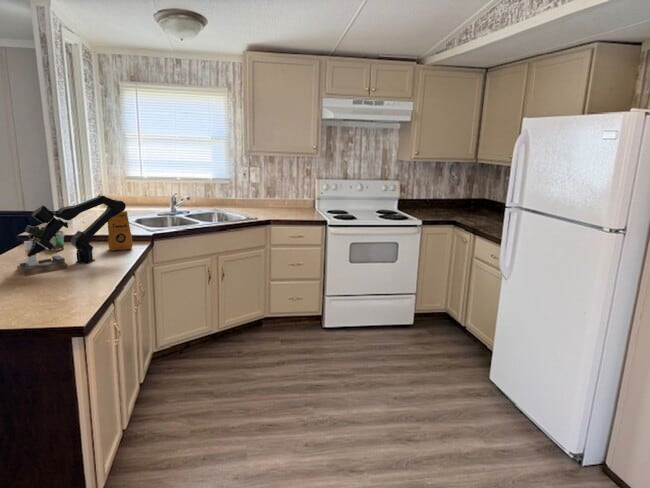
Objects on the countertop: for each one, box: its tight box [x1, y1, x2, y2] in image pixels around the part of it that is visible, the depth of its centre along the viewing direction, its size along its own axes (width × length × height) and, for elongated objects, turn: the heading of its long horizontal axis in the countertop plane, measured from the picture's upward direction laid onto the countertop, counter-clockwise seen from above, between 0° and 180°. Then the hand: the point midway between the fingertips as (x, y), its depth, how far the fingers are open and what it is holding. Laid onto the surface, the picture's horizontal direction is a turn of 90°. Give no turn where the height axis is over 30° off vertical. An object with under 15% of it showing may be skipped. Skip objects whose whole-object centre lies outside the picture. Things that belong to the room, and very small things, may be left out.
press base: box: [16, 255, 69, 276], centre depth 210 cm, size 18×12×4 cm, turn 137°
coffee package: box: [107, 210, 134, 251], centre depth 248 cm, size 10×12×22 cm
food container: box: [49, 230, 65, 253], centre depth 246 cm, size 12×6×10 cm, turn 47°
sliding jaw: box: [23, 240, 39, 267], centre depth 205 cm, size 4×8×12 cm, turn 48°
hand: (27, 255), depth 204 cm, fingers closed on sliding jaw, 3 cm apart
